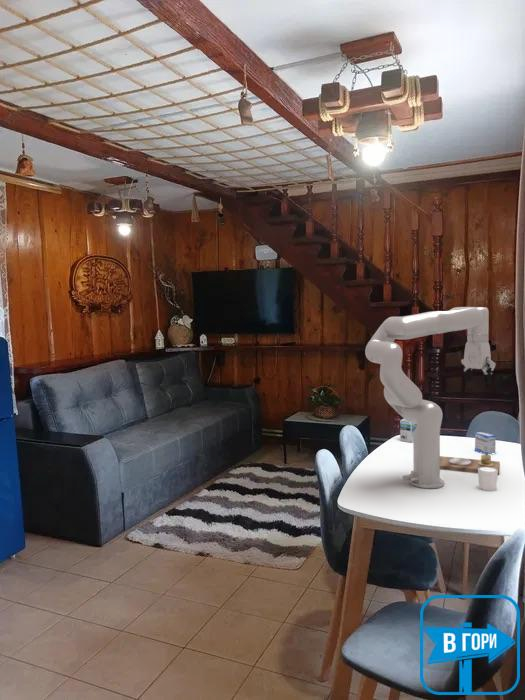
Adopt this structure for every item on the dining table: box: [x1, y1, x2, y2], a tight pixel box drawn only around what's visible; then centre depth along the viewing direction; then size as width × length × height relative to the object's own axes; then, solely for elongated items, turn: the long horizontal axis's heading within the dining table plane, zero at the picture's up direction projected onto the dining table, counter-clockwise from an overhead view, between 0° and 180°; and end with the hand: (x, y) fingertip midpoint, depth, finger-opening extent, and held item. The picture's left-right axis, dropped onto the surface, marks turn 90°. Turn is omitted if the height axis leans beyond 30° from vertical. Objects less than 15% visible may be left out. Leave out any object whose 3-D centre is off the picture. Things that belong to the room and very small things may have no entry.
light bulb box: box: [399, 418, 417, 444], centre depth 264 cm, size 11×7×11 cm, turn 137°
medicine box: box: [474, 431, 497, 455], centre depth 238 cm, size 8×4×9 cm, turn 25°
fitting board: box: [440, 454, 501, 476], centre depth 218 cm, size 24×14×5 cm, turn 65°
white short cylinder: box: [477, 467, 499, 492], centre depth 192 cm, size 7×7×7 cm
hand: (477, 382), depth 204 cm, fingers open, 9 cm apart
